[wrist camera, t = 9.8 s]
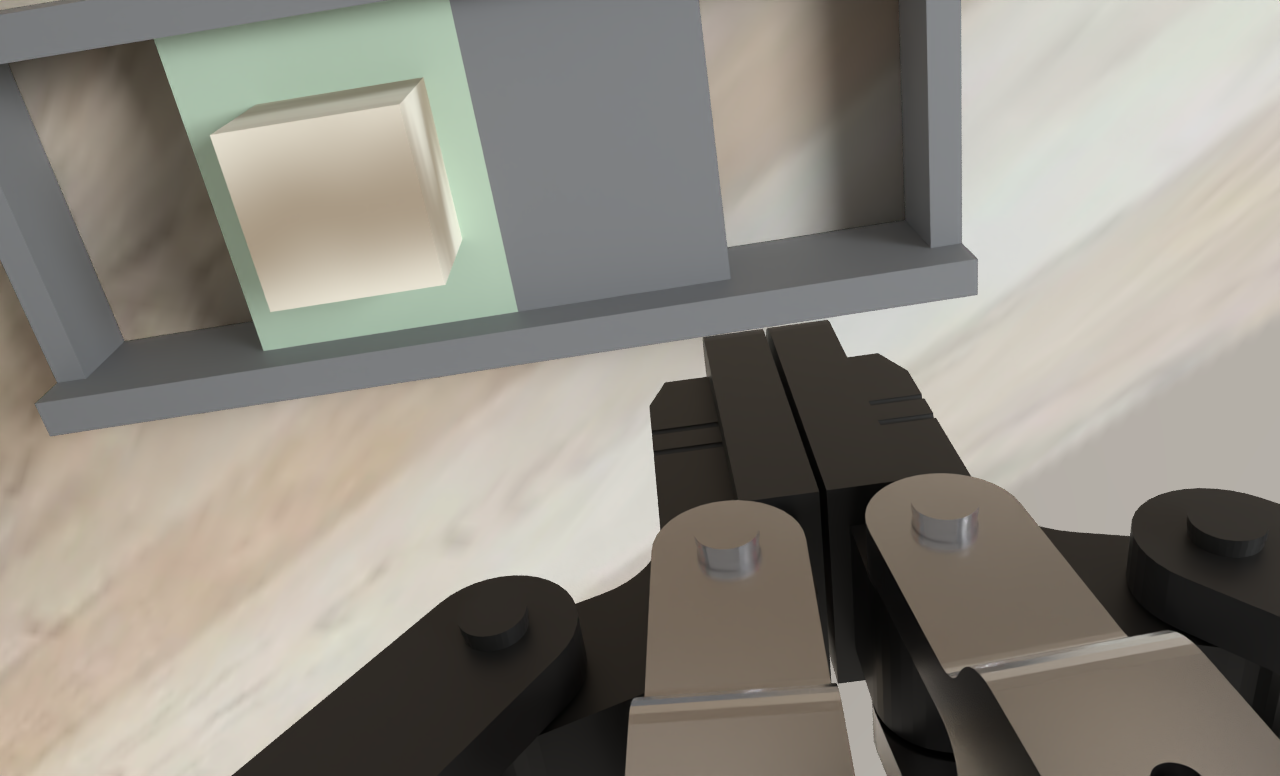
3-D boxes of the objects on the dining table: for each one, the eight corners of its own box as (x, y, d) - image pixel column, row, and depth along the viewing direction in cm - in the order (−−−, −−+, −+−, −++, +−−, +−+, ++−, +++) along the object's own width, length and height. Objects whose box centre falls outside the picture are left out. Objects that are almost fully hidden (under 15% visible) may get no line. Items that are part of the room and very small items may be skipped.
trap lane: (-45, 17, 31) (-141, 38, 27) (927, -145, 30) (979, -148, 26) (110, 375, 36) (50, 436, 32) (934, 248, 36) (977, 294, 32)
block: (256, 104, 30) (210, 135, 26) (423, 77, 29) (399, 104, 26) (307, 263, 32) (270, 312, 28) (462, 239, 32) (445, 284, 28)
